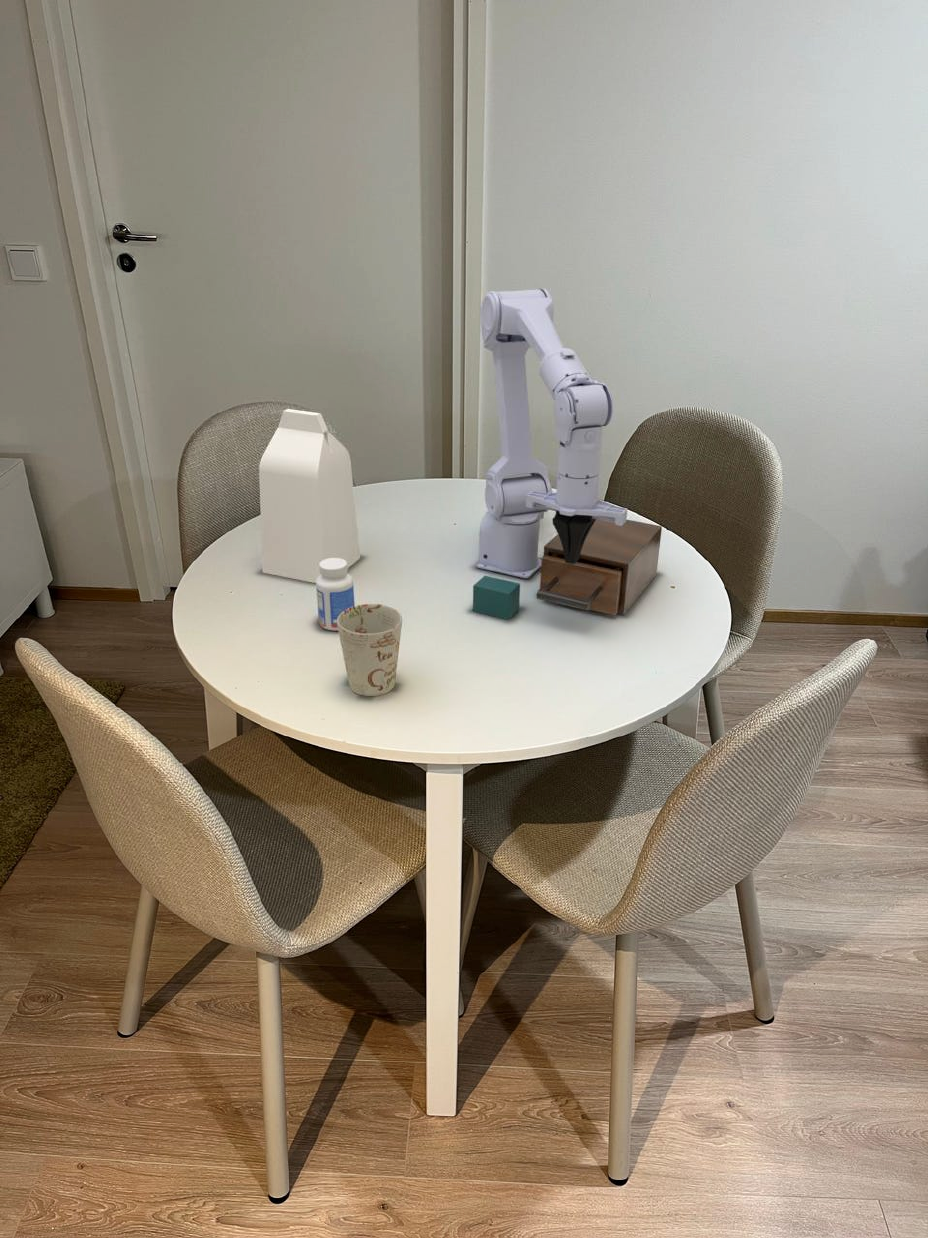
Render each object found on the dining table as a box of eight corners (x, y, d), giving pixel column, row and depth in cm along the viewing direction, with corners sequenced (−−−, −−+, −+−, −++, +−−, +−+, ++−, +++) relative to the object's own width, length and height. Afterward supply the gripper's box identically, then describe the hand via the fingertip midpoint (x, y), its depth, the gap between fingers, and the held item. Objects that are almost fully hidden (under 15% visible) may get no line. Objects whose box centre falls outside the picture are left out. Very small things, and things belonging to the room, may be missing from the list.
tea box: (472, 611, 150) (473, 585, 147) (484, 600, 153) (484, 575, 151) (508, 620, 147) (509, 593, 145) (519, 609, 150) (520, 583, 148)
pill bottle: (361, 618, 147) (359, 558, 143) (346, 634, 143) (343, 573, 138) (328, 612, 149) (324, 553, 144) (312, 628, 144) (308, 567, 140)
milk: (262, 572, 161) (248, 417, 148) (298, 546, 170) (287, 398, 158) (327, 585, 157) (317, 426, 145) (360, 557, 166) (354, 407, 154)
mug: (354, 707, 126) (351, 639, 121) (320, 662, 135) (316, 598, 131) (413, 692, 129) (412, 625, 124) (376, 649, 139) (374, 586, 134)
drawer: (599, 634, 142) (603, 592, 138) (521, 615, 147) (523, 574, 143) (647, 576, 159) (651, 537, 156) (576, 560, 164) (578, 523, 161)
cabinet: (623, 615, 149) (628, 564, 145) (541, 596, 154) (543, 546, 150) (656, 574, 162) (662, 526, 158) (579, 557, 167) (583, 510, 163)
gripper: (518, 471, 136) (515, 560, 142) (618, 489, 130) (610, 581, 136) (539, 457, 141) (534, 543, 148) (635, 473, 136) (626, 563, 142)
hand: (572, 560), depth 142 cm, fingers closed
